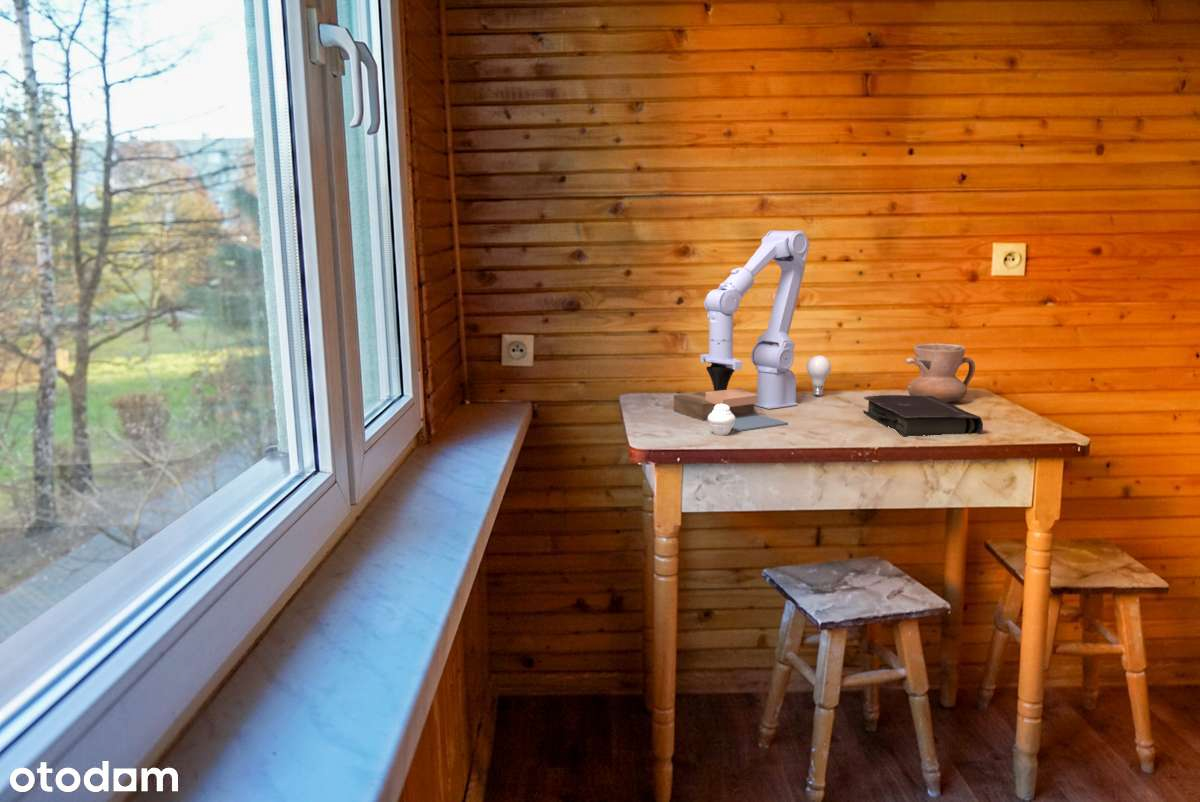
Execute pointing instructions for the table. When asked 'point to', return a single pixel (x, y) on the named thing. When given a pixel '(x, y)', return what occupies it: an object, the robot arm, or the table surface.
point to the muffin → (721, 419)
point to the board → (703, 406)
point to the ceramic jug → (940, 372)
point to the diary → (921, 415)
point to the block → (731, 397)
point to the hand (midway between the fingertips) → (720, 395)
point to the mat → (754, 422)
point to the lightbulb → (818, 372)
